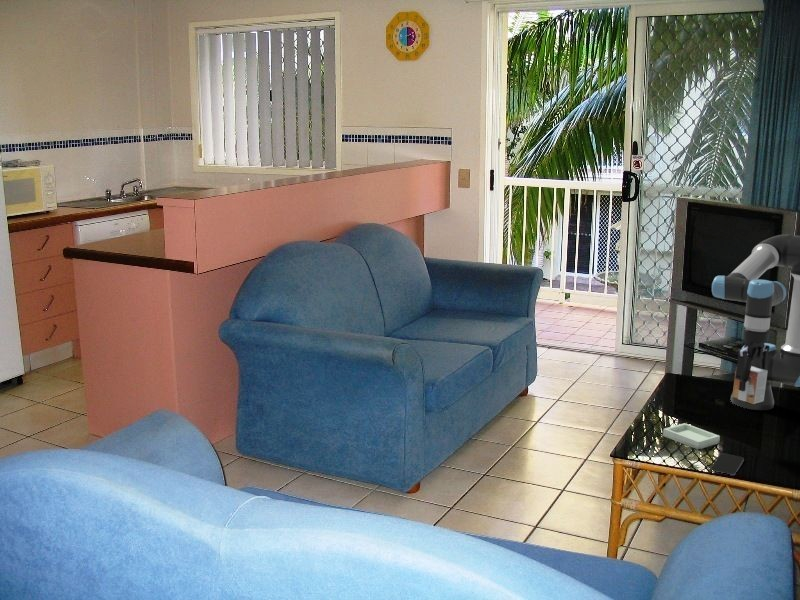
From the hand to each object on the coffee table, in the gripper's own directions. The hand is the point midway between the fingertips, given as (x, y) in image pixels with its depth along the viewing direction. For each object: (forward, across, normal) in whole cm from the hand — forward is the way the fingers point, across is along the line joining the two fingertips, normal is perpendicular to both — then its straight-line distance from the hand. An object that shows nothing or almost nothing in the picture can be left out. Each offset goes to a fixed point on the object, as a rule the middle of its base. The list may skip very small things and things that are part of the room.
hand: (748, 398), depth 280 cm
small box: (+1, 0, 0) cm, 1 cm away
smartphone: (+17, +18, +7) cm, 26 cm away
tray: (+17, +10, -13) cm, 23 cm away
